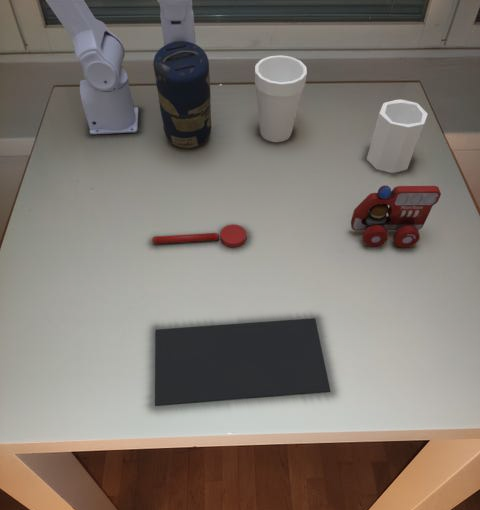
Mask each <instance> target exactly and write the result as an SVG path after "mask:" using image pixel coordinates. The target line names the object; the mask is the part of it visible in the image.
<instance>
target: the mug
mask: <svg viewBox="0 0 480 510" xmlns="http://www.w3.org/2000/svg"><path fill="white" fill-rule="evenodd" d="M428 115H429V113H427V111H426V110H425V109H424V108H423V107H422V106H421V105H420V104H419V103H418V102H415V101H410V100H407V99H403V98H402V99H401V98H399V99H393V100H391V101H386V102H383V104H382V105H381V108H380V110H379V113H378V117H377V120H376V124H375V127H374V131H373V135H372V139H371V142H370V145H369V149H368V153H367V156H366V160H367V161H368V163H370V164H371V165H372V166H373V167H374V169H376V170H378V171H382V172H386V173H391V174H396V173H399V172H403V171H407V170H408V168H409V166H410V164H411V160H412V158H413V155H414V153H415V150H416V147H417V146H418V145H417V144H418V142H419V139H420V136H421V135H422V131H423V128H424V126H425V123H426V120H427V117H428Z"/></svg>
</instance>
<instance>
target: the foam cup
mask: <svg viewBox="0 0 480 510" xmlns="http://www.w3.org/2000/svg"><path fill="white" fill-rule="evenodd" d="M254 70H255V71H254V85H255V91H256V102H257V103H256V104H257V111H258V123H259V124H258V125H259V132H260V135H261V137H262V138H263V139H264V140H266V141H268V142H272V143H280V142H281V143H282V142H284V141H287V140H289V138H290V137H291V136H292V133H293V130H294V125H295V121H296V118H297V113H298V110H299V107H300V103H301V99H302V95H303V92H304V88H305V87H306V82H307V74H308V71H307V66H306V64H305V63H303V62H302V61H301V60H300V59H298V58H295V57H293V56H289V55H281V54H280V55H278V54H277V55H270V56H266V57H264V58H262V59H260V60H259V61H258V62H257V63H256V64H255V67H254Z"/></svg>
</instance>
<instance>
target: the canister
mask: <svg viewBox="0 0 480 510" xmlns="http://www.w3.org/2000/svg"><path fill="white" fill-rule="evenodd" d="M209 61H210V60H209V57H208V55H207V53H206V52H205V50H204V49H203V48H202V47H201V46H199V45H198V44H197V43H196V44H193V43H191V42H186V41H177V42H172V43H169V44H167V45H165V46H164V45H163V46H162V47H161V48H159V49H158V50H157V51H156V53H155V55H154V58H153V62H152V63H153V64H152V65H153V72H154V78H155V84H156V90H157V96H158V104H159V110H160V115H161V119H162V124H163V132H164V135H165V137H166V139H167V140H168V141H169V142H170V143H171V144H172V145H174V146H177V147H179V148H182V149H183V148H184V149H191V148H196V147H199V146H201V145H203V144H204V143H205V142H207V140H208V139H209V137H210V136H211V133H212V107H211V106H212V105H211V104H212V103H211V99H212V98H211V77H210V76H211V75H210V62H209Z"/></svg>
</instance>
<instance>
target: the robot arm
mask: <svg viewBox="0 0 480 510" xmlns="http://www.w3.org/2000/svg"><path fill="white" fill-rule="evenodd" d="M45 2H46V3H47V5H48V6H49V8H50V9H51V11H52V12H53V13H54V15H55V16H56V18H57V19H58V21H59V22H60V23H61V26H63V28H64V29H65V31H66V32H67V33H68V35H69V36H70V38H71V41H72V45H73V50H74V53H75V58H76V59H77V61H78V62H79V64H80V65H81V67H82V72H83V76H84V79H80V82H79V95H80V101H81V105H82V108H83V111H84V115H85V118H86V122H87V125H88V128H89V134H90V135H110V134H128V133H137V132H138V129H139V128H138V127H139V126H138V125H139V108H138V107H134V102H133V96H132V92H131V87H130V81H129V77H128V73H127V72H126V70H125V69H124V67H123V65H122V64H123V62H124V58H125V56H126V55H125V54H126V51H125V46H124V44H123V42H122V41H121V39H120V38H119V37H118V36H117V35H116V34H114V33H113V32H112V31H111V30H110V29H109V28H108V27H107V25H106V24H105V22H103V21H101V20H99V19H97V18H96V17H95V16H94V13H92V11H91V10H90V8H89V6H88V4H87V3H86V1H85V0H45ZM156 2H157V3H158V4H159V9H160V12H159V17H160V24H161V31H162V32H161V33H162V40H163V46H165V45H167V44H169V43H172V42H177V41H186V42H191V43H193V44H196V45H197V39H196V27H195V16H194V10H193V0H156Z"/></svg>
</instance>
